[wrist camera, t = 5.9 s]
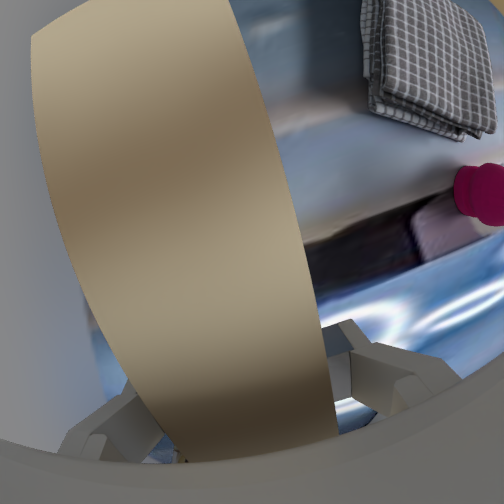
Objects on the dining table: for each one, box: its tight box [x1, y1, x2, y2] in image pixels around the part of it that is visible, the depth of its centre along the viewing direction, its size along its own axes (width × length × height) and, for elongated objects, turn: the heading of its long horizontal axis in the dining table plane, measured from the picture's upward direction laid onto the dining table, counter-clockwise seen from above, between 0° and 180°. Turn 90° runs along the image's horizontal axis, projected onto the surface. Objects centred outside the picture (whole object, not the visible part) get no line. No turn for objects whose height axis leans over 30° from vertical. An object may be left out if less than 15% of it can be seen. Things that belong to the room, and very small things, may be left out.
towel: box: [360, 0, 497, 143], centre depth 19 cm, size 15×18×8 cm
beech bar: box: [31, 0, 339, 463], centre depth 8 cm, size 20×4×5 cm, turn 16°
